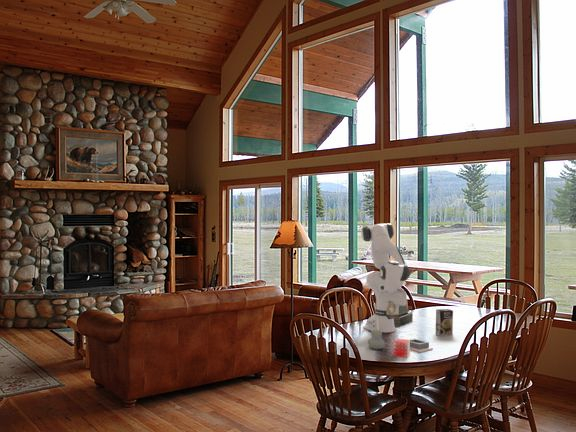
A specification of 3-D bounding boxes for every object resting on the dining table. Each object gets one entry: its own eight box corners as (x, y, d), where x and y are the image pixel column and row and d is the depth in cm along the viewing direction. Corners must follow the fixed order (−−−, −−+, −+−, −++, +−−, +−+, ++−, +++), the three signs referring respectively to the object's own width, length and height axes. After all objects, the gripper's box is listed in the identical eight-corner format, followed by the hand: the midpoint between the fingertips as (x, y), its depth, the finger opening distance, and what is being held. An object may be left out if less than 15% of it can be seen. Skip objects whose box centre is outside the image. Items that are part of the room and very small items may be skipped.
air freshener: (367, 346, 321) (367, 329, 320) (381, 346, 321) (381, 329, 321) (371, 351, 310) (371, 333, 310) (385, 350, 310) (386, 333, 310)
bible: (399, 326, 376) (400, 290, 376) (374, 323, 387) (374, 288, 387) (412, 321, 395) (413, 287, 395) (387, 318, 406) (388, 284, 406)
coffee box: (440, 336, 349) (440, 310, 349) (435, 333, 355) (435, 309, 355) (453, 335, 351) (453, 310, 351) (447, 333, 357) (447, 308, 357)
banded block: (386, 317, 329) (386, 300, 329) (393, 316, 333) (393, 300, 332) (391, 318, 326) (391, 302, 326) (398, 317, 329) (398, 301, 329)
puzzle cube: (407, 357, 297) (407, 343, 297) (393, 355, 300) (393, 341, 300) (409, 353, 305) (409, 339, 305) (395, 352, 308) (395, 338, 307)
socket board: (401, 346, 320) (401, 340, 320) (414, 344, 326) (414, 337, 326) (419, 352, 308) (419, 345, 308) (432, 349, 314) (432, 342, 314)
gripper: (409, 290, 322) (409, 313, 323) (385, 285, 339) (384, 307, 339) (402, 290, 319) (401, 314, 319) (377, 286, 335) (377, 308, 336)
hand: (392, 310), depth 329 cm, fingers closed on banded block, 4 cm apart
